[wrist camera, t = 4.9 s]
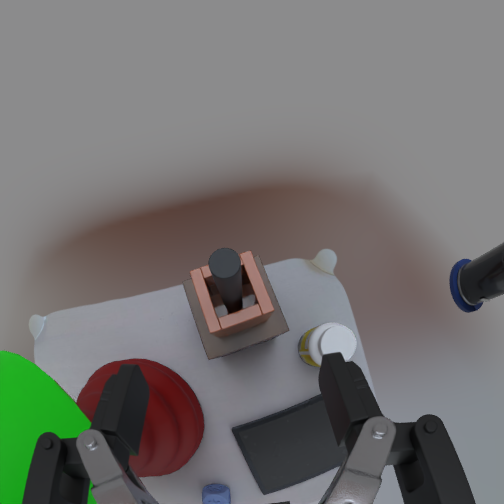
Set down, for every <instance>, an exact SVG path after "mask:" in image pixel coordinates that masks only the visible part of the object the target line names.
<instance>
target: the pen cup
mask: <svg viewBox="0 0 504 504" xmlns="http://www.w3.org/2000/svg"><path fill="white" fill-rule="evenodd" d="M238 255H239V254H238ZM239 257H240V260H241V277H242V299H243V306H242V308H241V309H240V310H239V311H236V312H230V311H228V310H227V309H226V307H225V305H224V303H223V300H222V298H221V295H220V293H219V291H218V288H217V286H216V284H215V281H214V279H213V276H212V274H211V271H210V269H209V265H206V266H204V267H201V268H198V269H195V270H192V271H190V275H191V279H192V282H193V285H194V288H195V291H196V294H197V297H198V300H199V303H200V306H201V309H202V312H203V315H204V318H205V321H206V324H207V327H208V330H209V333H210V334H212V335H214V336H216V337H218V338H222V337H224V336H227V335H230V334H233V333H236V332H239V331H241V330H244V329H247V328H250V327H253V326H255V325H258V324H261V323H263V322H266V321H267V320H268V319H269V318H270V316H271V315H272V313H273V312H274V307H273V305H272V302H271V300H270V297H269V295H268V292H267V290H266V287H265V285H264V282H263V280H262V277H261V275H260V272H259V270H258V267H257V265H256V262H255V260H254V257H253V255H252V252H251V251H247V252H244V253H241V254H240V255H239Z"/></svg>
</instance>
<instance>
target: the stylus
mask: <svg viewBox="0 0 504 504" xmlns="http://www.w3.org/2000/svg"><path fill="white" fill-rule="evenodd" d="M209 269H210V271H211V274H212V276H213V279H214V281H215V284H216V286H217V288H218V291H219V293H220V295H221V298H222V300H223V303H224V305H225V307H226V309H227V310H228V311H230V312H236V311H239V310H240V309H241V308H242V306H243V299H242V277H241V260H240V257H239V255H238V254H237V253H236V252H235V251H234V250H232V249H229V248H221V249H218V250H216V251H215V252H214V253H213V254H212V255H211V257H210V258H209Z"/></svg>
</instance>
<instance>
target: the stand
mask: <svg viewBox="0 0 504 504" xmlns="http://www.w3.org/2000/svg"><path fill="white" fill-rule="evenodd" d="M254 260H255V262H256V265H257V267H258V270H259V272H260V275H261V277H262V280H263V282H264V285H265V287H266V290H267V292H268V295H269V297H270V300H271V302H272V305H273V307H274V312H273V313H272V315H271V316H270V318H269V319H268V320H267V321H266V322H263V323H261V324H258V325H255V326H253V327H250V328H247V329H244V330H241V331H239V332H236V333H233V334H230V335H227V336H224V337H222V338H218V337H216V336H214V335H212V334H210V333H209V330H208V327H207V324H206V321H205V318H204V315H203V312H202V309H201V306H200V303H199V300H198V297H197V294H196V291H195V288H194V285H193V282H192V279H189V280H185V281H183V285H184V289H185V292H186V295H187V298H188V301H189V305H190V308H191V311H192V314H193V317H194V320H195V323H196V326H197V329H198V332H199V334H200V337H201V340H202V343H203V346H204V349H205V351H206V354H207V357H208V359H209V360H210V359H214V358H219V357H223V356H226V355H228V354H231V353H234V352H237V351H240V350H243V349H246V348H248V347H251V346H254V345H256V344H259V343H262V342H264V341H267V340H270V339H272V338H275V337H277V336H279V335H281V334H283V333H285V332H287V331H289V328H288V326H287V323H286V321H285V318H284V316H283V313H282V311H281V308H280V306H279V304H278V301H277V299H276V296H275V294H274V291H273V289H272V286H271V284H270V281H269V279H268V277H267V274H266V272H265V269H264V267H263V264H262V262H261V259H260V257H259V255H257V256H255V257H254Z"/></svg>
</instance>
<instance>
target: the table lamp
mask: <svg viewBox="0 0 504 504" xmlns="http://www.w3.org/2000/svg"><path fill="white" fill-rule="evenodd" d="M121 364H137V365H139V366H140V368H141V371H142V373H143V375H144V377H145V379H146V381H147V383H148V386H149V391H150V397H149V402H148V406H147V411H146V416H145V421H144V426H143V431H142V437H141V442H140V448H139V454H138V456H134V455H130V456H129V463H130V464H131V466H132V467H133V469H134V471H135V472H136V474H137V475H138V477H147V476H162V475H167V474H170V473H172V472H175V471H177V470H179V469H180V468H181V467H182V466H184V465H185V464H186V463H187V462H188V461H189V459H190V458H191V457H192V456H193V455H194V453H195V452H196V450H197V449H198V447H199V445H200V443H201V440H202V438H203V432H204V419H203V413H202V410H201V407H200V404H199V402H198V400H197V398H196V396H195V394H194V392H193V391H192V389H191V388H190V387H189V385H188V384H187V383H186V382H185V381H184V380H183V379H182V378H181V377H180V376H179V375H178V374H177V373H175V372H173V371H172V370H171V369H169V368H168V367H166V366H163V365H161V364H159V363H157V362H154V361H150V360H147V359H128V360H122V361H114V362H111V363H109V364H106V365H104V366H102V367H101V368H99V369H98V370H96V371H95V373H94V374H93V375H92V376H91V377H90V378H89V380H88V382H87V384H86V385H85V387H84V388H83V389H82V390H81V392H80V394H79V396H78V399H77V402H75V401H74V400H73V399H72V398H71V397H70V396H69V395H68V394H67V393H66V392H65V391H64V390H63V389H62V388H61V387H60V385H59V384H58V383H57V382H56V381H55V380H53V379H52V378H51V377H50V376H48V375H47V374H46V373H45V372H44V371H42V370H41V369H40V368H39V367H38V366H37V365H35V364H34V363H32V362H30V361H29V360H27V359H25V358H23V357H22V356H20V355H18V354H15V353H11V352H7V351H0V504H22V501H23V495H24V490H25V485H26V480H27V476H28V472H29V468H30V464H31V460H32V456H33V453H34V449H35V446H36V443H37V440H38V438H39V436H40V435H42V434H43V433H45V432H52V433H55V434H56V435H57V436H58V437H59V438H60V439H62V438H76V437H78V436H79V434H80V433H82V432H83V431H85V430H89V428H90V426H91V423H92V420H93V417H94V413H95V410H96V408H97V405H98V402H99V401H100V396H101V393H102V390H103V388H104V385H105V382H106V381H107V380H108V379H109V378H110V376H111V375H112V374H116V375H117V373H118V371H119V368H120V366H121ZM92 487H93V484H92V482H91V480H90V487H89V494H88V503H87V504H97V503H96V501H95V499H94V497H93V495H92V492H91V488H92Z"/></svg>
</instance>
